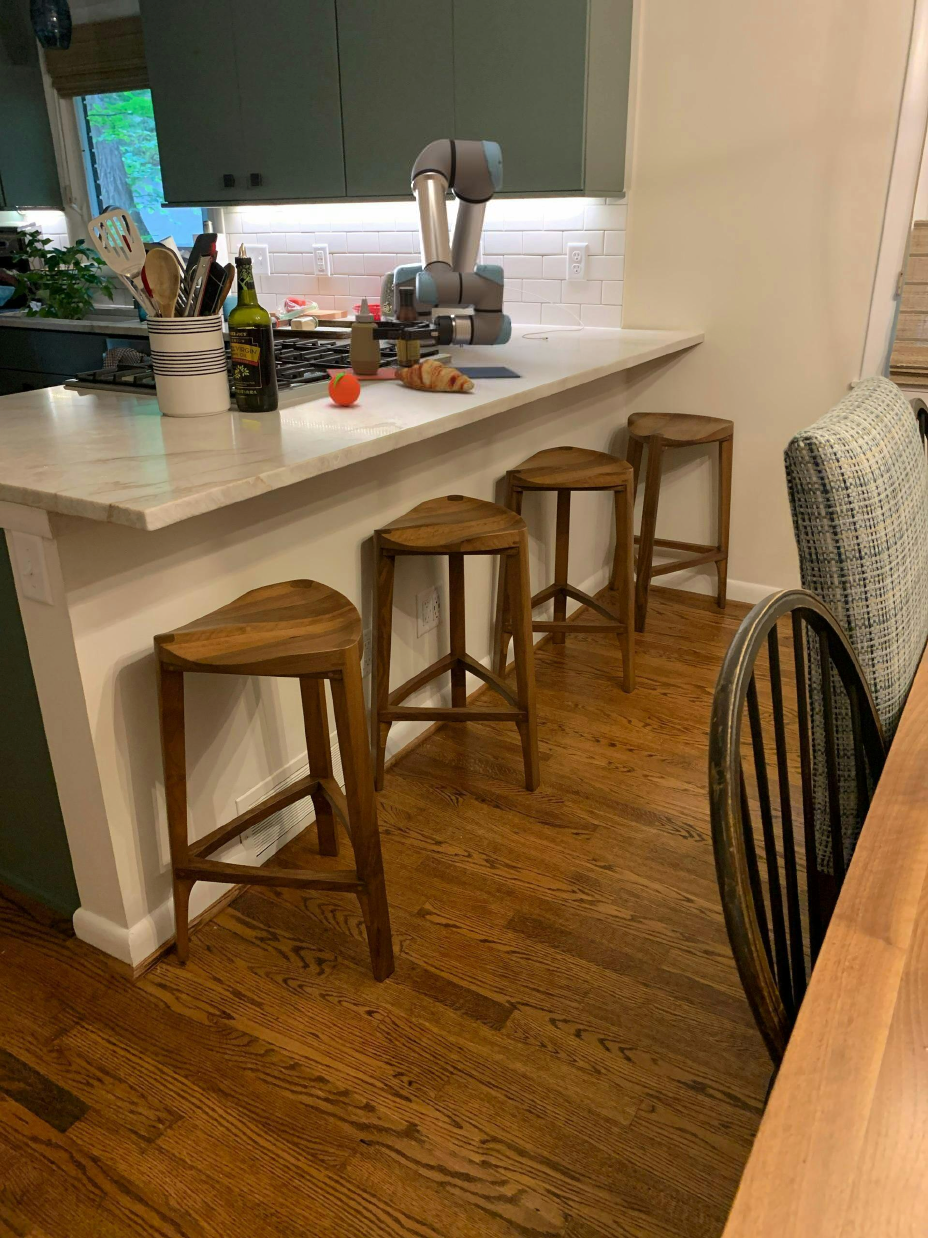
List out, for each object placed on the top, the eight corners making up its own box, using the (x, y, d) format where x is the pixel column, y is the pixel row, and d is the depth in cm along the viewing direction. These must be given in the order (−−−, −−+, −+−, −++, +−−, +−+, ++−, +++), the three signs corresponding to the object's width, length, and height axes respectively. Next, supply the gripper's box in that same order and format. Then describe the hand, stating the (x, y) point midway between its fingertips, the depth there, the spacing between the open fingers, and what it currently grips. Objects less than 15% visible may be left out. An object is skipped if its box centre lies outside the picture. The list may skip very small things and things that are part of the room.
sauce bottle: (421, 363, 255) (422, 286, 247) (418, 367, 249) (418, 288, 241) (397, 362, 255) (397, 285, 247) (394, 366, 250) (393, 287, 241)
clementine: (349, 410, 197) (349, 376, 194) (320, 407, 199) (319, 373, 196) (366, 404, 204) (365, 370, 201) (337, 400, 206) (336, 368, 203)
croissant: (477, 405, 222) (485, 373, 222) (463, 391, 213) (471, 357, 213) (399, 394, 230) (407, 362, 230) (382, 380, 220) (390, 347, 220)
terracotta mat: (326, 370, 240) (326, 369, 240) (394, 369, 245) (394, 368, 245) (333, 380, 228) (333, 378, 228) (405, 379, 233) (405, 377, 232)
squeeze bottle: (343, 374, 234) (341, 298, 227) (358, 369, 241) (357, 296, 234) (372, 377, 232) (371, 301, 224) (386, 372, 238) (386, 298, 231)
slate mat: (439, 369, 248) (439, 367, 248) (503, 368, 252) (503, 366, 252) (452, 378, 236) (452, 376, 235) (519, 377, 240) (519, 375, 240)
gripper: (462, 352, 228) (377, 353, 223) (439, 338, 250) (360, 338, 245) (463, 320, 225) (376, 320, 220) (439, 308, 247) (360, 308, 242)
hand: (368, 330), depth 232 cm, fingers open, 13 cm apart
